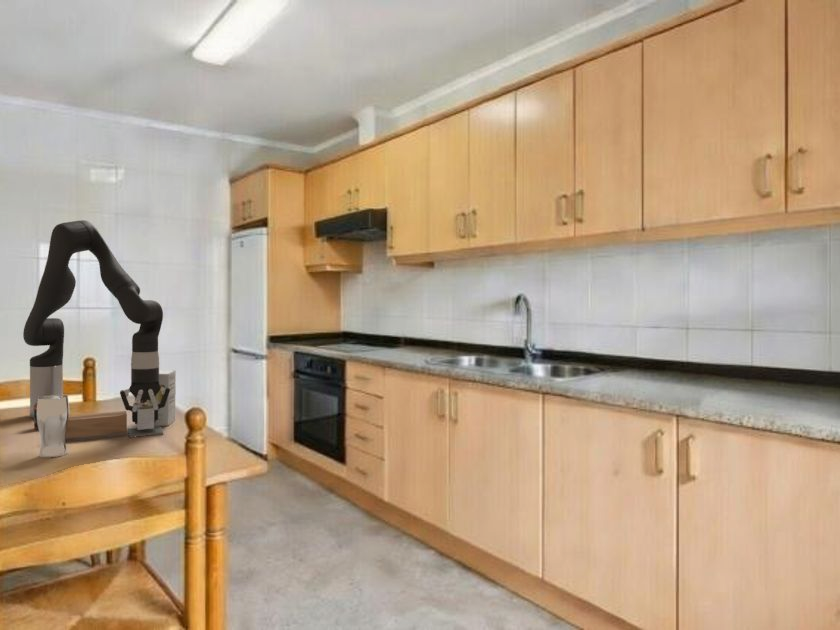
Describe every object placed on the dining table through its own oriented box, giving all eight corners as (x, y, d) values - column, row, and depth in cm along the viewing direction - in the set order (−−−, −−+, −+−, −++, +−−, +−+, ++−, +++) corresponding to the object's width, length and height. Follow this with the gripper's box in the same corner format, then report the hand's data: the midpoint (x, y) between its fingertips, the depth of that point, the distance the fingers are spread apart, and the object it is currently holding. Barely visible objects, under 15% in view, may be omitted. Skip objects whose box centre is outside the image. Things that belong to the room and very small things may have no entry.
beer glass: (44, 460, 135) (44, 400, 134) (31, 455, 138) (31, 397, 138) (74, 453, 141) (74, 396, 140) (61, 449, 144) (61, 393, 144)
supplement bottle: (57, 427, 169) (57, 396, 168) (40, 430, 164) (40, 399, 164) (47, 425, 171) (47, 395, 170) (30, 428, 166) (30, 397, 166)
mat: (128, 430, 166) (128, 428, 166) (160, 427, 170) (160, 425, 170) (129, 437, 157) (129, 435, 157) (163, 434, 161) (163, 432, 161)
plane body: (54, 437, 157) (54, 416, 157) (126, 430, 166) (126, 410, 166) (52, 442, 150) (52, 421, 150) (127, 435, 160) (127, 415, 159)
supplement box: (136, 426, 170) (136, 373, 170) (145, 420, 179) (145, 369, 179) (169, 425, 172) (169, 373, 172) (176, 419, 181) (176, 369, 181)
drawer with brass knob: (137, 429, 159) (137, 406, 159) (136, 424, 166) (136, 402, 166) (154, 428, 161) (154, 405, 161) (152, 422, 168) (152, 401, 168)
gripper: (118, 369, 156) (118, 427, 157) (172, 366, 163) (172, 422, 164) (118, 366, 163) (118, 422, 163) (170, 363, 170) (169, 418, 170)
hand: (145, 422), depth 163 cm, fingers closed on drawer with brass knob, 4 cm apart
